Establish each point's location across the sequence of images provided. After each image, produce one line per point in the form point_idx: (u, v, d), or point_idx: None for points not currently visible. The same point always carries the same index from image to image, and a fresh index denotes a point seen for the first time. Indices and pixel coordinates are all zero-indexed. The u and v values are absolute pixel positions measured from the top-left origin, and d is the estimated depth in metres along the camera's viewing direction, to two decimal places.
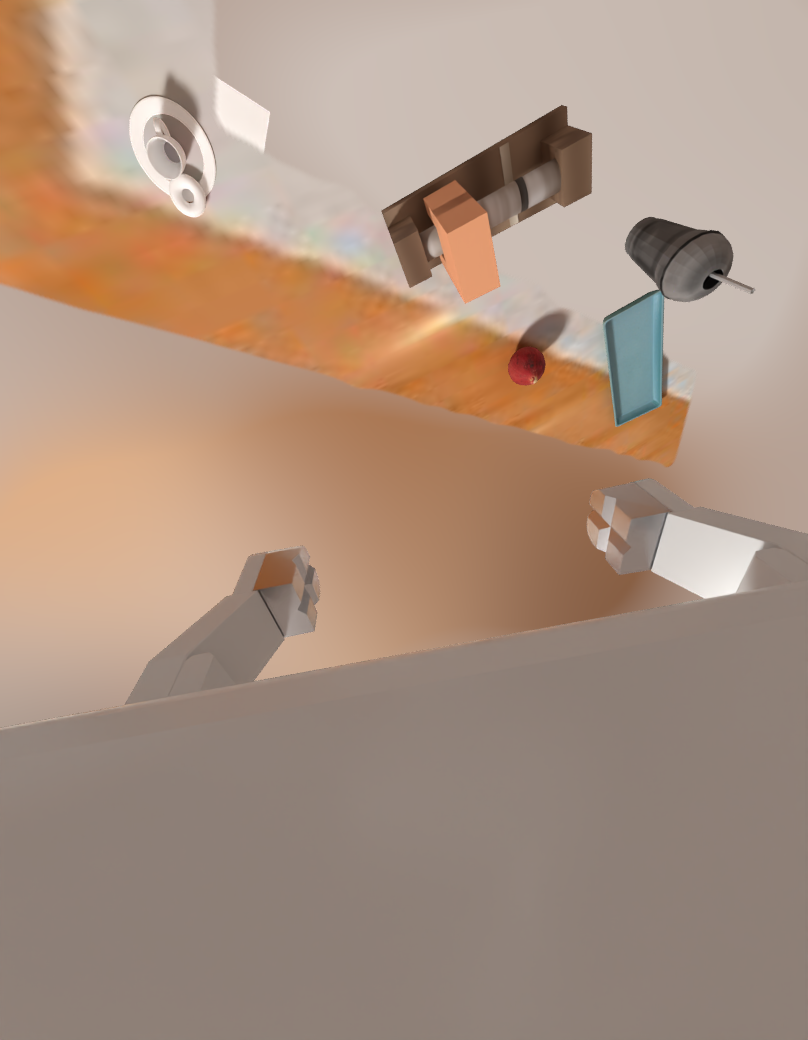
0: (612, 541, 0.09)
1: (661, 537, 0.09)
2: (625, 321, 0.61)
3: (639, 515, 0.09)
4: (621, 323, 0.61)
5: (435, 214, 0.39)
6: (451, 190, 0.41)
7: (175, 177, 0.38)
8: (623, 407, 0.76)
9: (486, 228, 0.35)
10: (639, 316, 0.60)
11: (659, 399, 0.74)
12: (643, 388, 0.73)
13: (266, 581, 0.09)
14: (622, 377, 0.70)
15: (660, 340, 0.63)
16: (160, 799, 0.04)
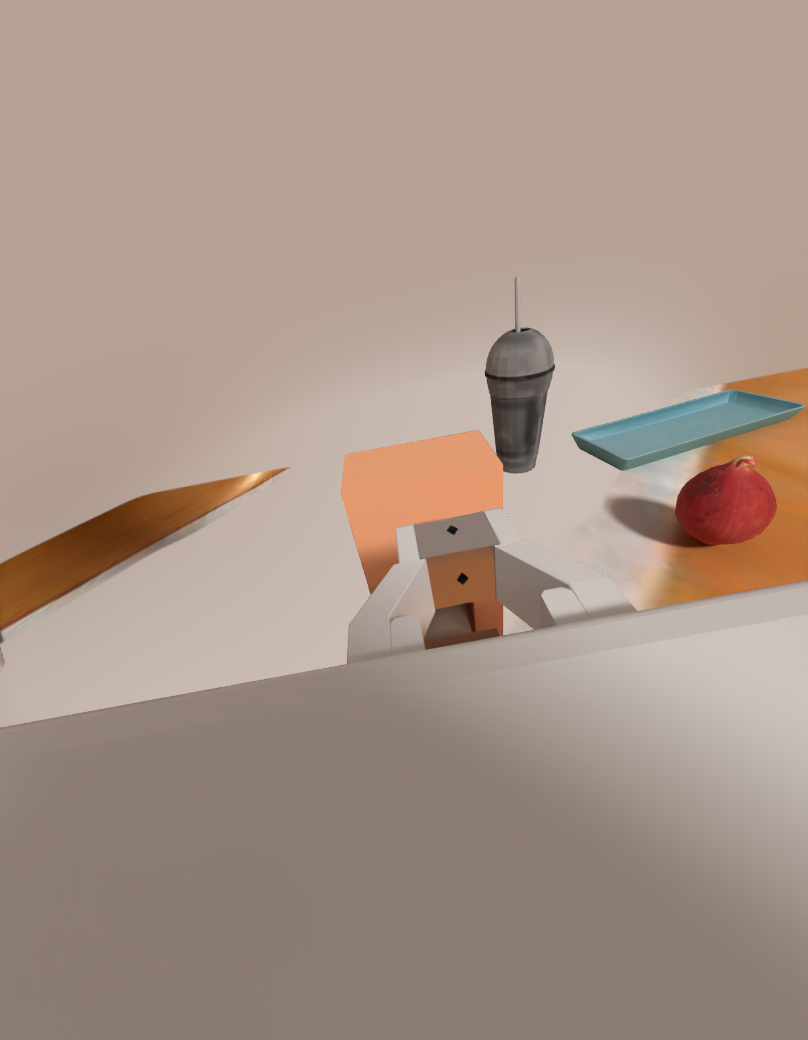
0: None
1: (495, 568, 0.09)
2: (620, 452, 0.44)
3: (470, 547, 0.09)
4: (624, 454, 0.44)
5: None
6: None
7: None
8: (761, 417, 0.46)
9: (368, 452, 0.18)
10: (610, 444, 0.46)
11: (724, 394, 0.51)
12: (714, 414, 0.49)
13: (429, 550, 0.09)
14: (707, 432, 0.45)
15: (635, 417, 0.48)
16: (160, 799, 0.04)
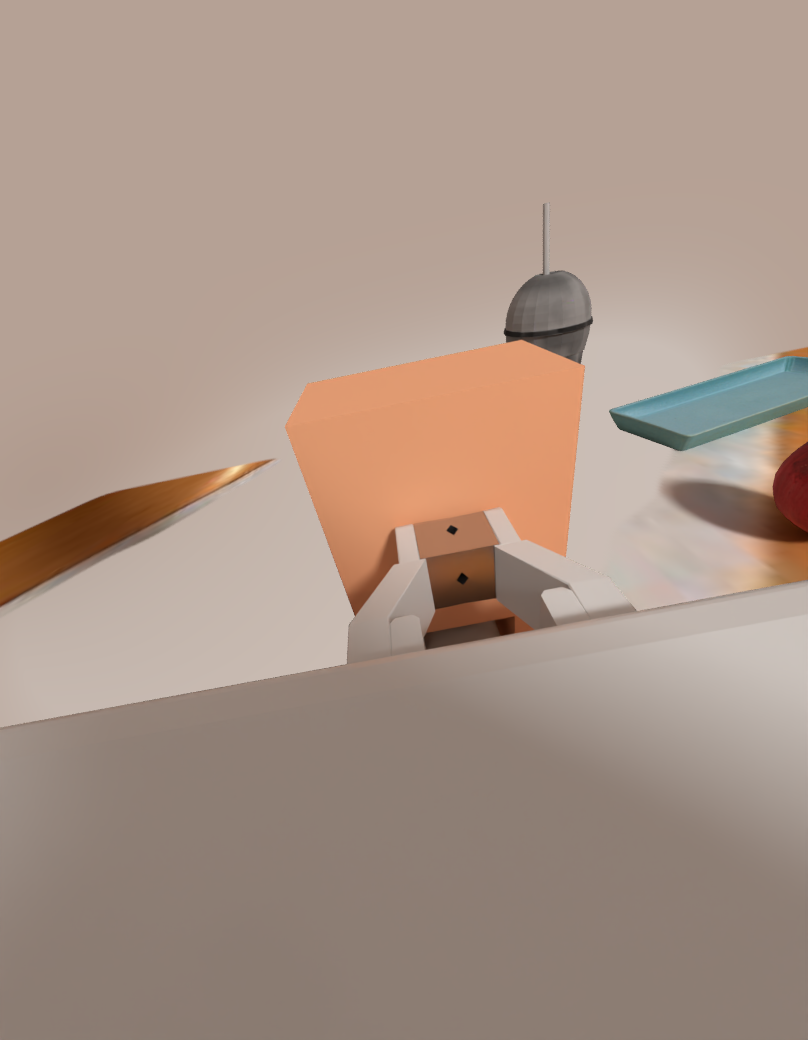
0: None
1: (495, 569, 0.09)
2: (672, 429, 0.36)
3: (470, 547, 0.09)
4: (678, 431, 0.36)
5: None
6: None
7: None
8: None
9: (344, 378, 0.11)
10: (657, 422, 0.38)
11: (779, 362, 0.43)
12: (773, 384, 0.41)
13: (430, 550, 0.09)
14: (774, 403, 0.37)
15: (681, 390, 0.40)
16: (160, 799, 0.04)
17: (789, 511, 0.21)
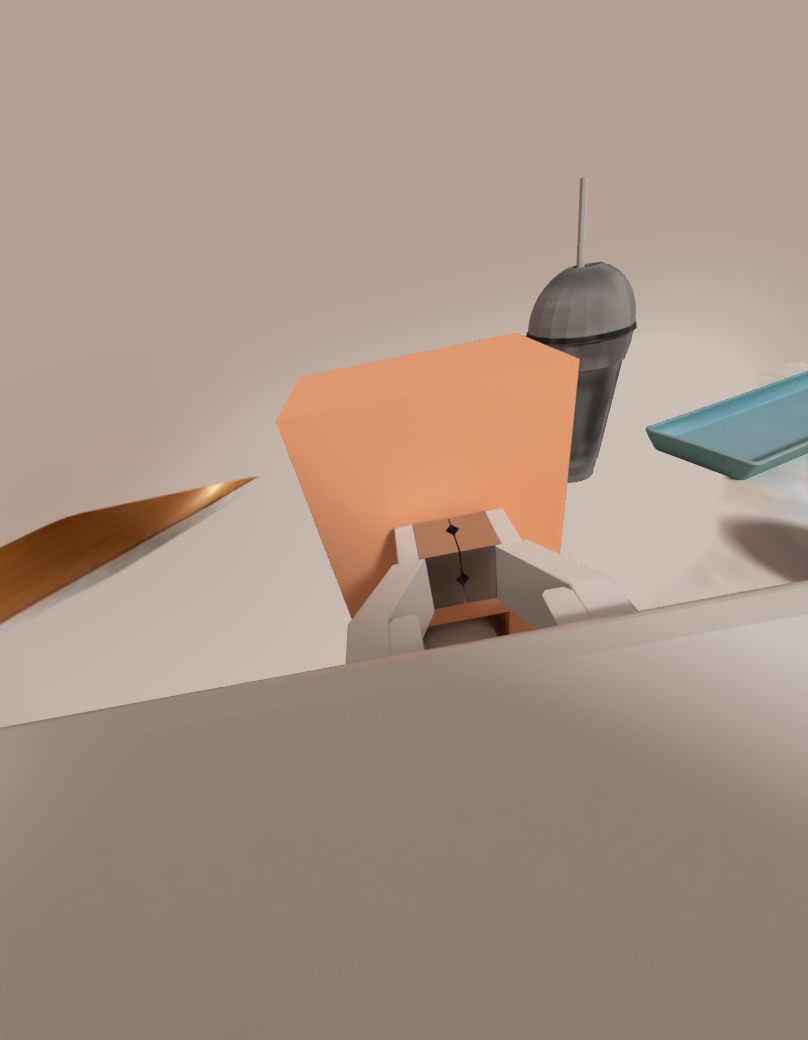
0: None
1: (496, 568, 0.09)
2: (723, 452, 0.31)
3: (470, 547, 0.09)
4: (731, 455, 0.30)
5: None
6: None
7: None
8: None
9: (337, 372, 0.11)
10: (702, 442, 0.32)
11: None
12: None
13: (429, 550, 0.09)
14: None
15: (724, 403, 0.35)
16: (160, 799, 0.04)
17: None
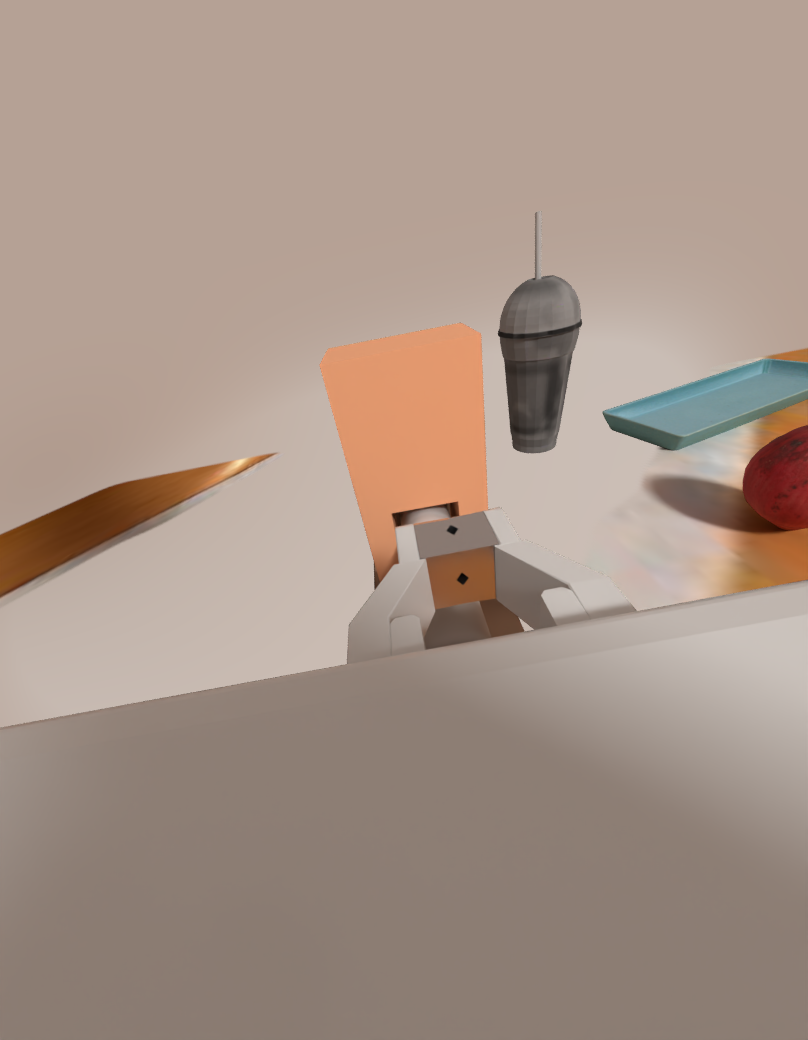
0: None
1: (495, 568, 0.09)
2: (664, 430, 0.37)
3: (470, 547, 0.09)
4: (669, 432, 0.37)
5: (355, 493, 0.19)
6: None
7: None
8: None
9: (351, 345, 0.18)
10: (648, 423, 0.39)
11: (757, 364, 0.45)
12: (753, 385, 0.43)
13: (430, 550, 0.09)
14: (756, 404, 0.39)
15: (669, 392, 0.42)
16: (160, 799, 0.04)
17: (755, 503, 0.23)
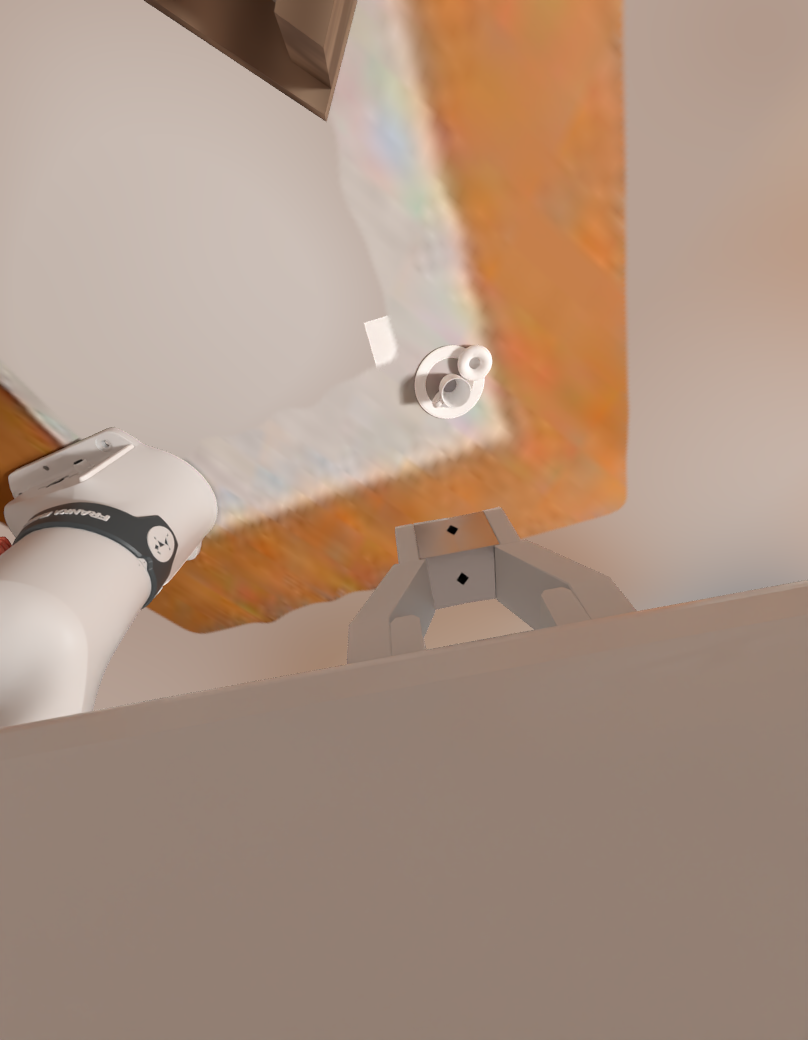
0: None
1: (495, 569, 0.09)
2: None
3: (470, 547, 0.09)
4: None
5: None
6: None
7: (464, 380, 0.38)
8: None
9: None
10: None
11: None
12: None
13: (430, 550, 0.09)
14: None
15: None
16: (160, 799, 0.04)
17: None
